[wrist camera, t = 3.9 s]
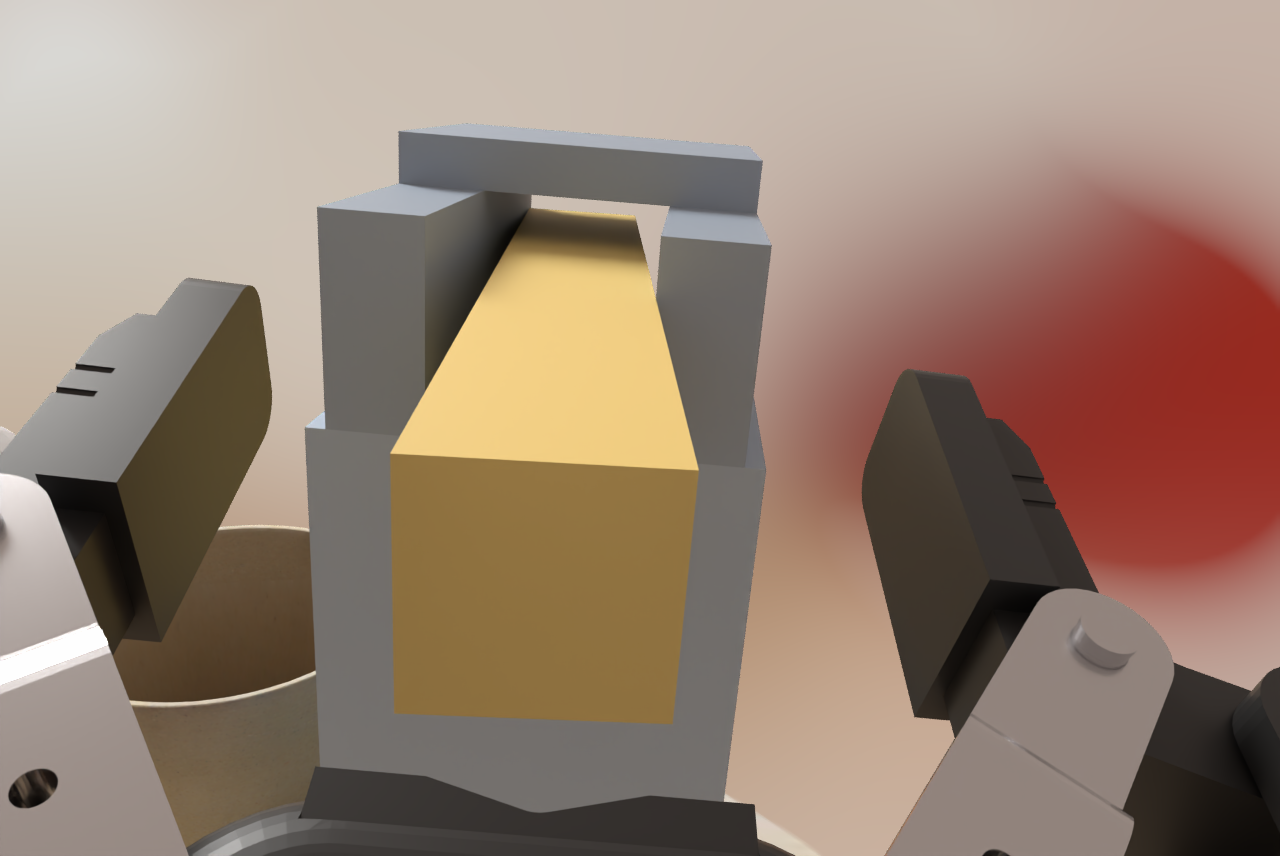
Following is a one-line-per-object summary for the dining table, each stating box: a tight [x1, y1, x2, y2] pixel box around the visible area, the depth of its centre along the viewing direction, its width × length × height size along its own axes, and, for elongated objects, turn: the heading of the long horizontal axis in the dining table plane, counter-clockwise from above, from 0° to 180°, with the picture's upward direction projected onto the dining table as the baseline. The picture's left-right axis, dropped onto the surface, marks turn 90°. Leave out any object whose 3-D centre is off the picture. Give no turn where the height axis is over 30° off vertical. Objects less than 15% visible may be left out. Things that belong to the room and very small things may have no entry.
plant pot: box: [113, 525, 320, 848], centre depth 44 cm, size 15×15×16 cm
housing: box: [305, 124, 772, 813], centre depth 33 cm, size 14×11×37 cm
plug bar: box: [390, 208, 699, 724], centre depth 24 cm, size 24×4×4 cm, turn 2°
